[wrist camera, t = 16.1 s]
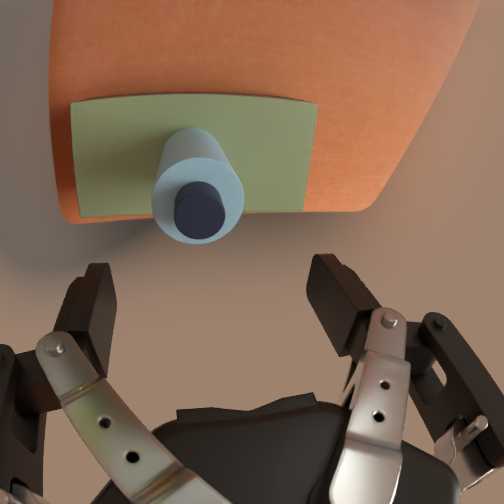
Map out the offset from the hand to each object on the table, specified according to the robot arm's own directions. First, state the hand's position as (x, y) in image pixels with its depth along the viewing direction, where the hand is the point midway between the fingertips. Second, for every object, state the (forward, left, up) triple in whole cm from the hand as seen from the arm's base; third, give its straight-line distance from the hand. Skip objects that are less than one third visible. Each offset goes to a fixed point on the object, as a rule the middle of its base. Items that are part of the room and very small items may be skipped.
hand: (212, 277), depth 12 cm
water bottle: (0, 0, -20) cm, 20 cm away
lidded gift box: (0, 0, -28) cm, 28 cm away
